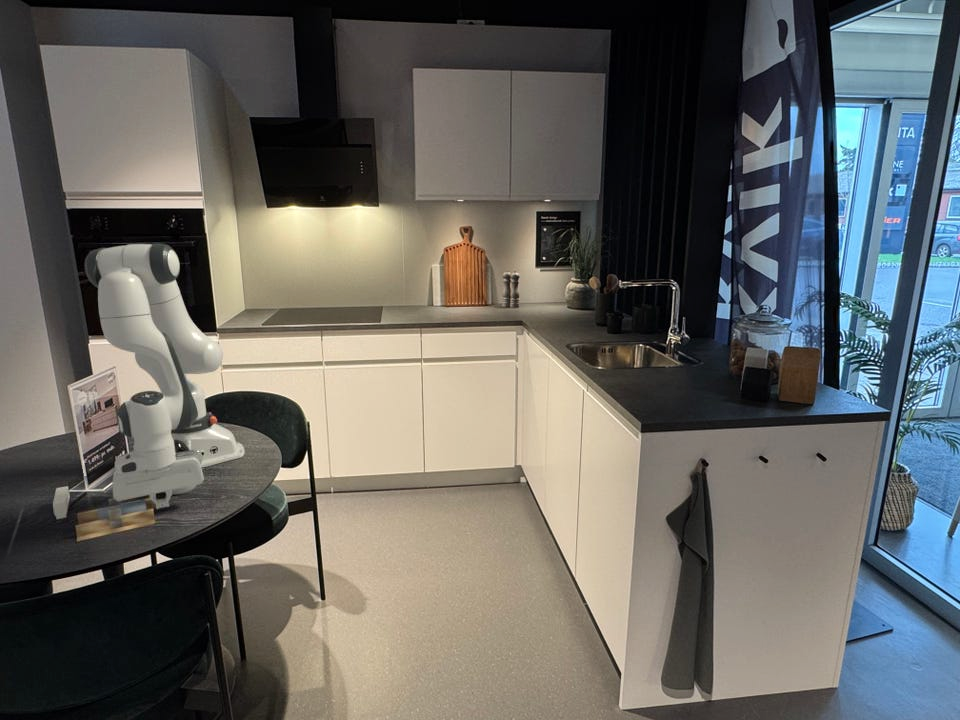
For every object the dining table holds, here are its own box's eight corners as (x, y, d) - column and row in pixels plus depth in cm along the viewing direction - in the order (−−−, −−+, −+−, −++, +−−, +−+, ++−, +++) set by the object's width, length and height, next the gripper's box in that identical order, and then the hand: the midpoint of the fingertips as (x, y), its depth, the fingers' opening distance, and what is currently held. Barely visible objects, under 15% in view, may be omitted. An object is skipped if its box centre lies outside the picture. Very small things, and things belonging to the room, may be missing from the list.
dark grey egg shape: (174, 503, 155) (167, 450, 152) (152, 494, 161) (144, 442, 157) (209, 489, 164) (203, 438, 160) (187, 480, 169) (180, 430, 166)
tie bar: (70, 503, 155) (67, 486, 154) (68, 520, 147) (64, 502, 146) (59, 505, 154) (56, 488, 153) (56, 522, 146) (52, 504, 144)
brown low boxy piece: (153, 506, 154) (150, 487, 152) (155, 526, 144) (152, 506, 142) (40, 531, 142) (36, 510, 140) (34, 554, 132) (30, 532, 130)
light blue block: (146, 511, 149) (144, 496, 149) (147, 517, 146) (145, 503, 145) (100, 521, 144) (98, 506, 144) (100, 528, 141) (97, 513, 140)
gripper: (199, 444, 154) (205, 492, 157) (108, 460, 143) (116, 511, 147) (202, 452, 149) (208, 502, 152) (108, 469, 138) (116, 522, 142)
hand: (162, 507), depth 149 cm, fingers closed
